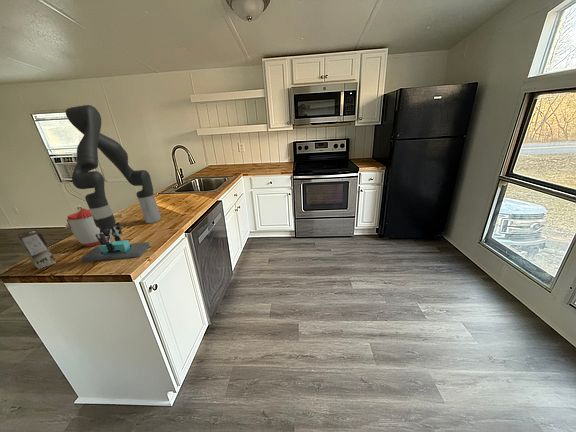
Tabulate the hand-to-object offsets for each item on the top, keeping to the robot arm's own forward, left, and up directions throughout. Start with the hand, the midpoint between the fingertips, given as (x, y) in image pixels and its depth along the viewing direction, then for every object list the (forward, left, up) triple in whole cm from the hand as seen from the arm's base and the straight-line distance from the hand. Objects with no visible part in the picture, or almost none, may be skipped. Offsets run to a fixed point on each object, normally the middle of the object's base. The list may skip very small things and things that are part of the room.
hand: (115, 247), depth 112 cm
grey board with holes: (0, 0, -4) cm, 4 cm away
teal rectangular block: (0, 0, -4) cm, 4 cm away
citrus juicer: (-16, -22, -4) cm, 27 cm away
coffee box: (+3, -32, -4) cm, 32 cm away
